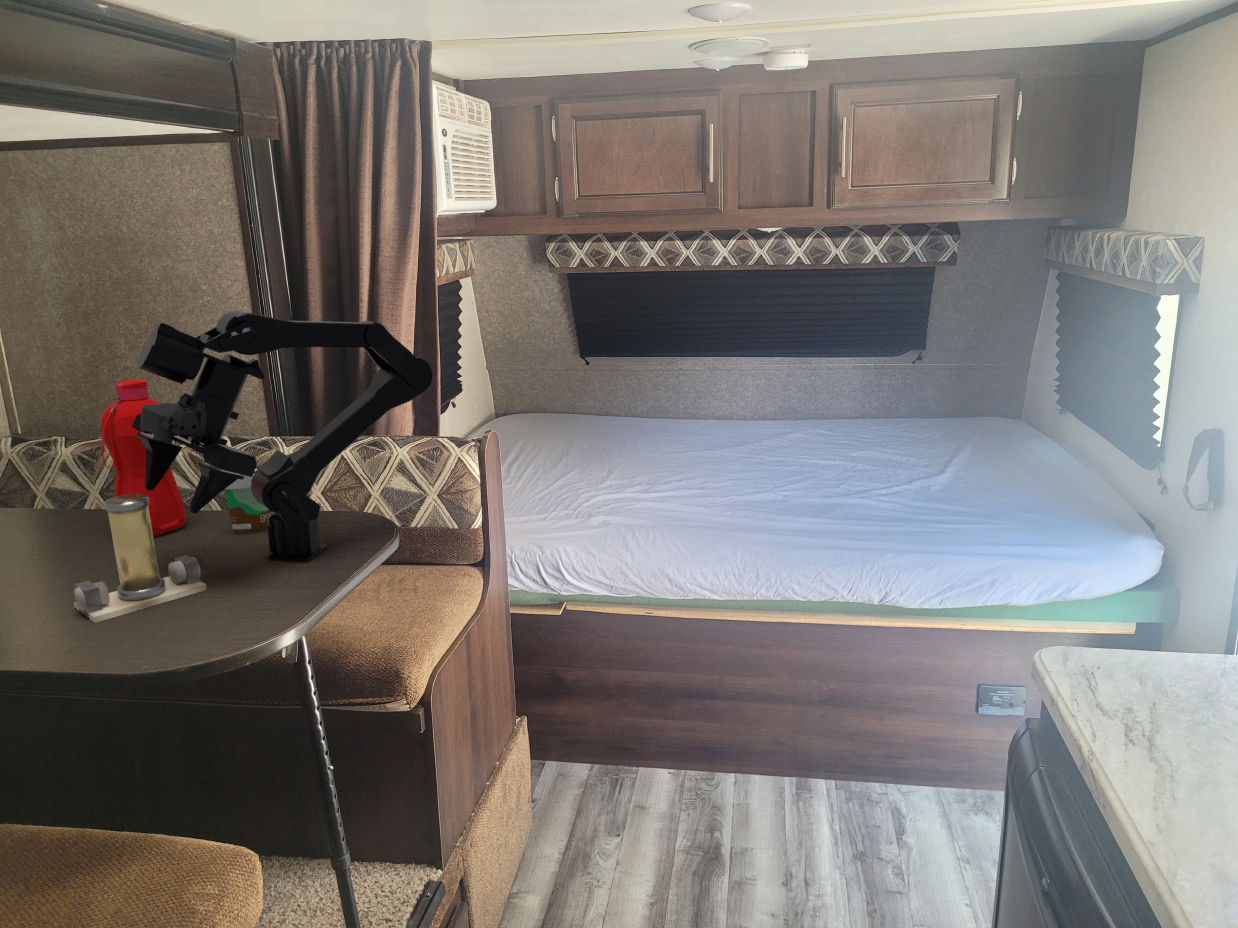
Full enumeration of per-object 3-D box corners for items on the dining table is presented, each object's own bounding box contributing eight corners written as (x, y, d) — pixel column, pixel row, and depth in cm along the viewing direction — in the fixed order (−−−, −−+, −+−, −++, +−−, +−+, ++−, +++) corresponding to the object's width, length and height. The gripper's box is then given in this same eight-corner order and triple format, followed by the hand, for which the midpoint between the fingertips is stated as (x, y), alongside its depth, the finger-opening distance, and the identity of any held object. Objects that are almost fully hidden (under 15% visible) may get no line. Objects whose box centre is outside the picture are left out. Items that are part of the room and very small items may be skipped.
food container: (262, 538, 141) (255, 478, 138) (227, 536, 142) (220, 476, 139) (302, 515, 152) (296, 459, 150) (270, 513, 153) (263, 458, 151)
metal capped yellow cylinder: (175, 588, 118) (160, 495, 115) (137, 604, 113) (120, 507, 110) (147, 582, 120) (132, 491, 117) (108, 597, 115) (91, 502, 112)
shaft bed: (186, 577, 124) (183, 551, 123) (209, 589, 120) (205, 563, 119) (72, 609, 114) (67, 581, 113) (92, 623, 109) (87, 595, 108)
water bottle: (98, 537, 142) (73, 384, 136) (160, 518, 151) (139, 374, 145) (134, 545, 138) (110, 388, 131) (195, 526, 147) (175, 378, 141)
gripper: (121, 360, 118) (74, 468, 117) (216, 401, 111) (167, 516, 110) (187, 383, 128) (145, 482, 127) (278, 422, 121) (233, 527, 120)
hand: (170, 501), depth 121 cm, fingers open, 9 cm apart
